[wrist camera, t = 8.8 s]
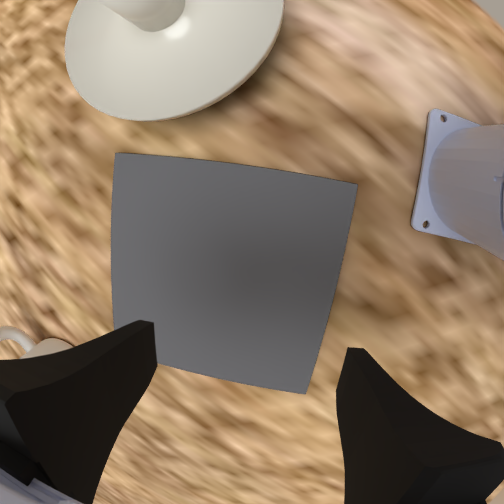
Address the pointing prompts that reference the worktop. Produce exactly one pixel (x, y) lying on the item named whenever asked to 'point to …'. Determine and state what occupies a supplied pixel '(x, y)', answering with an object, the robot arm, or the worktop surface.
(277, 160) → the worktop surface
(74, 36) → the lid
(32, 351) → the mug
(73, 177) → the worktop surface
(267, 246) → the mat
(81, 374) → the robot arm
